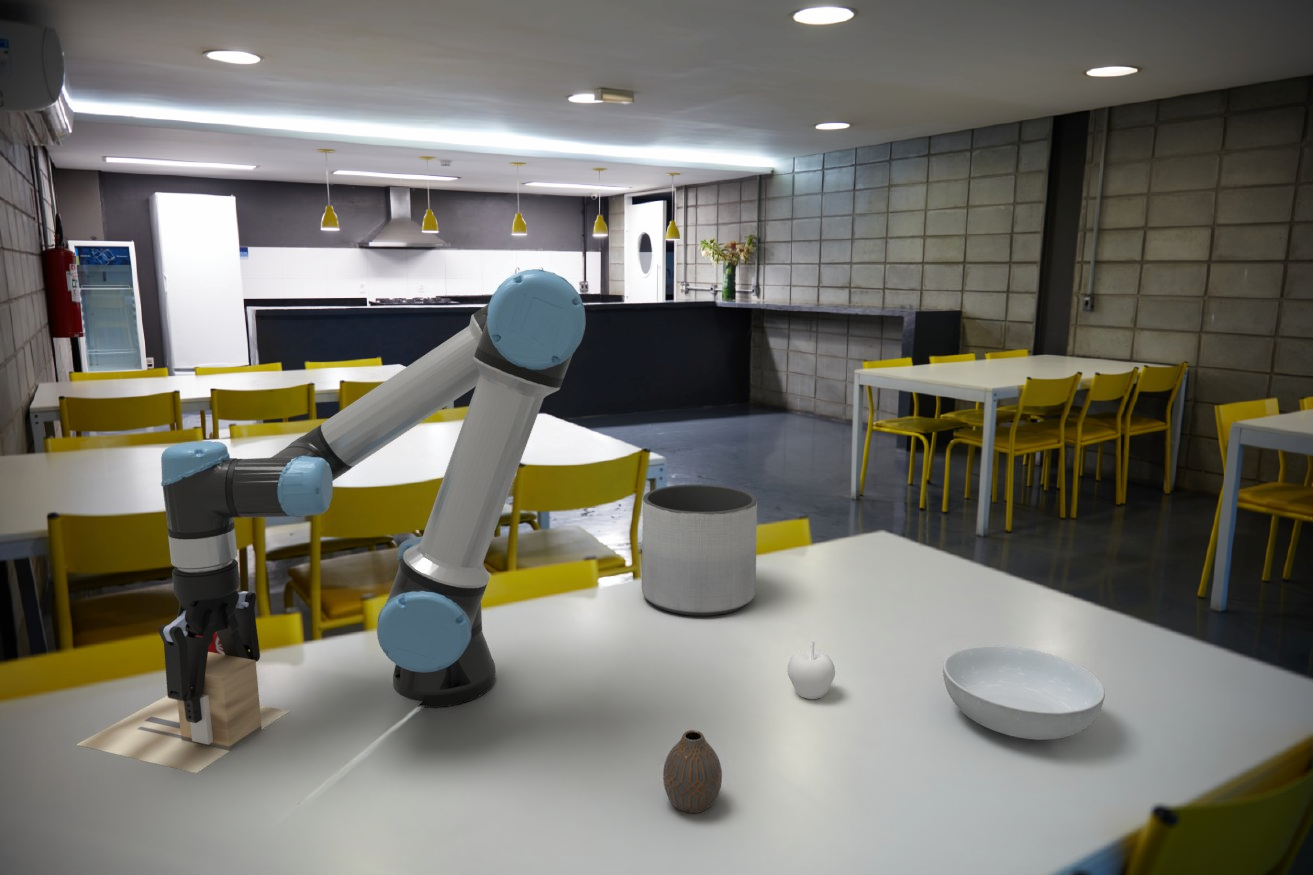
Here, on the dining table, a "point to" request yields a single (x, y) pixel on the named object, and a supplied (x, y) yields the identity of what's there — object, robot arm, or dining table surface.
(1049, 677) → the serving bowl
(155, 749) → the board
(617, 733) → the dining table surface
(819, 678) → the plain white apple
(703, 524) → the planter
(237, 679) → the wooden block
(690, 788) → the vase
